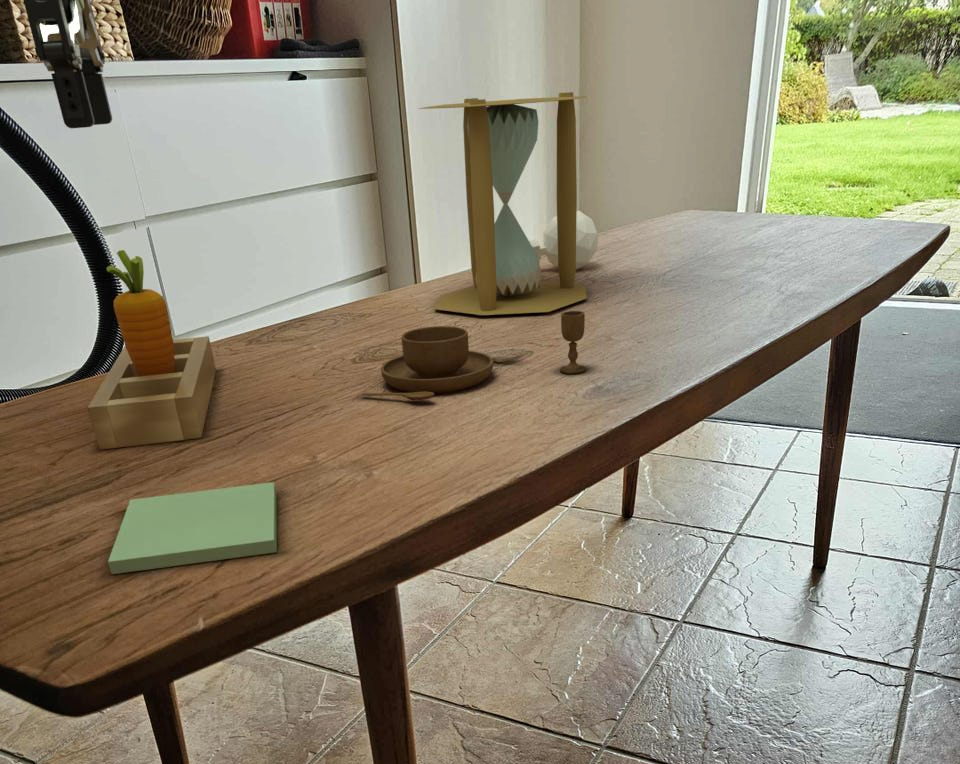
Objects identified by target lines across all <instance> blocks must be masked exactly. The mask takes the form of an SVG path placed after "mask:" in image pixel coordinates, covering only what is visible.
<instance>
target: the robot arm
mask: <svg viewBox="0 0 960 764" xmlns="http://www.w3.org/2000/svg"><path fill="white" fill-rule="evenodd" d="M23 4H24V8H25V11H26V16H27V21H28V24H29V28H30V32H31V36H32V39H33V42H34V51H35V54H36V56H37V57H38V60H39V61H40V62H42V63H43V65H44V67H45V68H46V70H47V72H53V73H51V74H50V75H51V78H52V82H53V85H54V86H53V87H54V90H55V93H56V97H57V100H58V101H57V102H58V104H59V109H60V113H61V116H62V121H63V123H64V125H65V126H66V127H67V128H69V129H82V128H92V127H93V126H95V125H96V126H97V125H109V124H111V123H112V121H113V115H112V111H111V106H110V103H109V99H108V95H107V90H106V85H105V80H104V78H103V77H104V76H103V73H104V67H105V66H104V65H106V64H105V63H106V61H105V59H106V54H105V52H104V51H103V47H102V44H101V40H100V39H101V38H100V36H99V31H98V27H97V23H96V19H95V14H94V10H93V6H92V3H91V0H23Z"/></svg>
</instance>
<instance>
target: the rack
mask: <svg viewBox="0 0 960 764" xmlns="http://www.w3.org/2000/svg"><path fill="white" fill-rule="evenodd" d="M173 343H174V358H175V373H169V374H159V375H150V376H140V377H139V375H138V373H137V371H136V369H135V367H134V365H133V363H132V361H131V358H130V356H129V354H128V351H127V349H126V346H125V345H124V346H123V348H122V350H121V351H120V353H119V355H118V356H117V358H116V360H115V362H114V363H113V364H112V366H111V368H110V370H109V372H108V373H107V374H106V376H105V377H104V380H103V381H102V383H101V385H100V386H99V388H98V389H97V391H96V392H95V394H94V396H93V398H92V400H91V401H90V403H89V404H88V406H87V410H88V414H89V418H90V420H91V424H92V428H93V431H94V435H95V438H96V442H97V445H98V448H99V450H101V451H102V450H111V449H117V448H119V449H120V448H128V447H136V446H145V445H155V444H162V443H172V442H178V441H179V442H180V441H186V440H187V441H188V440H196V439H197V440H198V439H202V437H203V433H204V428H205V423H206V419H207V414H208V410H209V409H208V408H209V405H210V401H211V396H212V391H213V386H214V382H215V381H214V380H215V377H216V372H217V369H216V363H215V359H214V355H213V351H212V350H213V349H212V345H211V341H210V336H208V335H207V336H199V337H198V336H197V337H187V338H178V339H177V338H176V339H173Z"/></svg>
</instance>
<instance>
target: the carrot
mask: <svg viewBox="0 0 960 764" xmlns="http://www.w3.org/2000/svg"><path fill="white" fill-rule="evenodd" d="M116 255H117V256H118V258H119V259H120V261H121V263H122V264H123V266H124V268H125V269H126V271H122V270H121V269H120V268H118V267H115V266H112V265H108V266H107V267H106V271H107V273H109V274H112V275H114V276H116V277H117V278H119V279H120V280H121V282H123V283H124V285H125V286H126V287H127V289H128V290H127V291H124V292H122V293H119V294H118V295H117V296H116V297H115V298H114V300H113V310H114V314H115V317H116V320H117V325H118V327H119V331H120V334H121V337H122V339H123V343H124V347H125V346H126V349H127V351H128V354H129V356H130V358H131V361H132V363H133V365H134V367H135V369H136V371H137V373H138V375H139V377H140V376H150V375H159V374H169V373H175V358H174V343H173V340H174V339H173V338H174V337H173V333H172V326H171V322H170V317H169V312H168V307H167V302H166V300H165V298H164V296H163V295H162V294H160V293H159V292H157V291H155V290H153V289H150V288H149V289H148V288H144V271H145V270H144V262H143V258H142V257H141V256H139V255H136V256H134V258H130V256H129V255H128V254H127V252H126V251H125V250H124V249H123V250H118V251H117V252H116Z"/></svg>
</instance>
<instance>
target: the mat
mask: <svg viewBox="0 0 960 764" xmlns="http://www.w3.org/2000/svg"><path fill="white" fill-rule="evenodd" d="M277 507H278V506H277V489H276V483H275V482H274V481H271V482H270V481H269V482H262V483H255V484H247V485H240V486H239V485H238V486H230V487H223V488H214V489H206V490H197V491H189V492H181V493H173V494H166V495H157V496H150V497H141V498H133V499H130V500H129V502H128V505H127V507H126V510H125V513H124V516H123V518H122V521H121V524H120V527H119V530H118V532H117V535H116V538H115V541H114V544H113V546H112V549H111V552H110V555H109V558H108V561H107V563H108V567H109V570H110V574H111V575H118V574H125V573H133V572H140V571H141V572H142V571H147V570H156V569H164V568H169V567H170V568H171V567H177V566H187V565H192V564H199V563H200V564H201V563H208V562H216V561H224V560H230V559H237V558H245V557H252V556H260V555H268V554H275V553H277V550H278V548H277V547H278V545H277V543H278V541H277V539H278V537H277V536H278V535H277V534H278V532H277V525H278V522H277V521H278V519H277V513H278V512H277V509H278V508H277Z"/></svg>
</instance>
